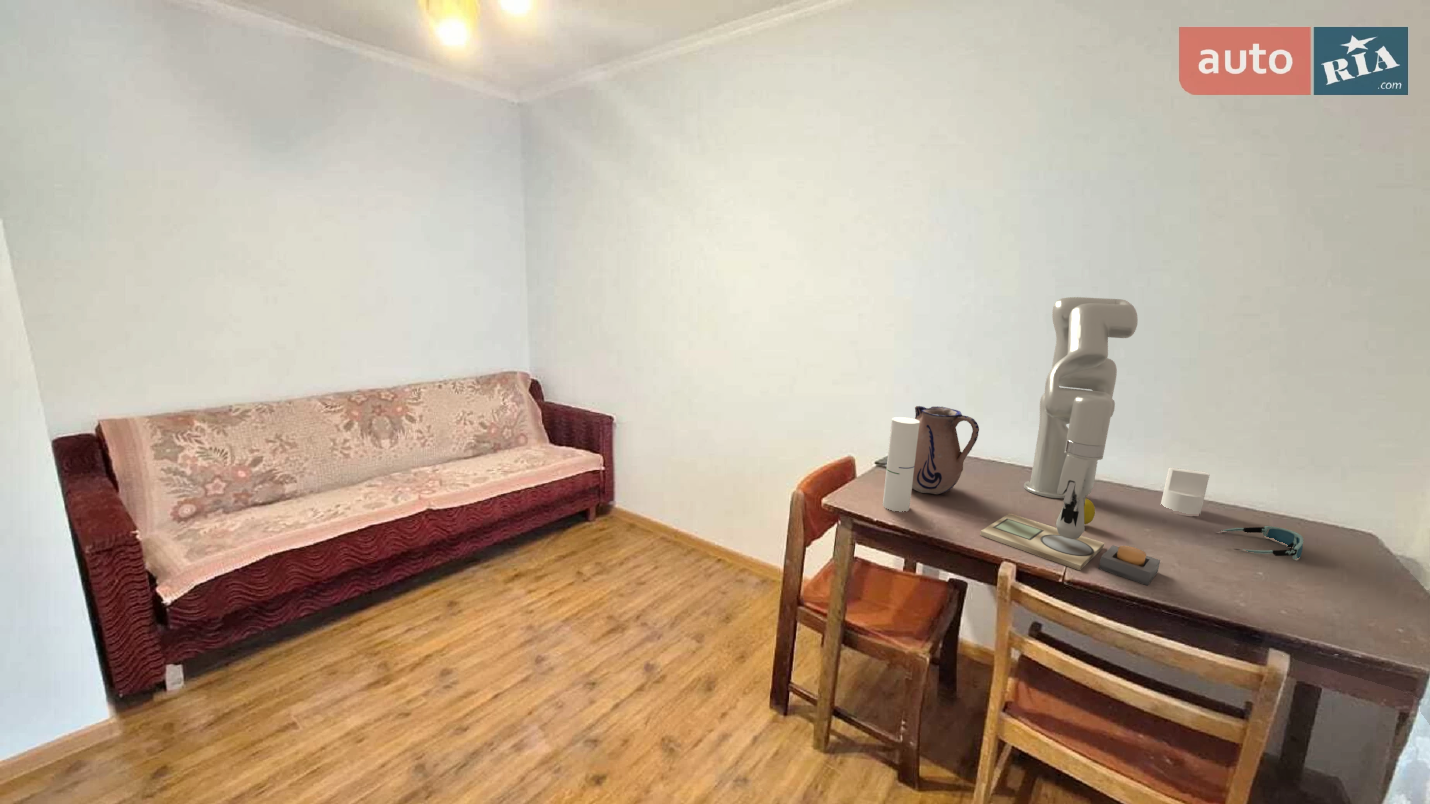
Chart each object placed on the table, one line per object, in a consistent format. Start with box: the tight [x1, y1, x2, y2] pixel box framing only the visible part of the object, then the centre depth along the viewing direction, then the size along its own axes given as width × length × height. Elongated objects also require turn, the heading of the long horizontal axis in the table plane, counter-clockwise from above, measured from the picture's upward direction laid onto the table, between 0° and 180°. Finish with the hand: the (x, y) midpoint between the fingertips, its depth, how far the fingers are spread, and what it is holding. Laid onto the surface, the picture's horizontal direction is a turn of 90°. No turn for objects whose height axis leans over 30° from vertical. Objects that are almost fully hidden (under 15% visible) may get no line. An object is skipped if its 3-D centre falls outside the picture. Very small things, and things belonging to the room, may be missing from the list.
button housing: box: [1098, 544, 1161, 586], centre depth 125 cm, size 9×9×3 cm
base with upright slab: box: [1160, 467, 1210, 514], centre depth 161 cm, size 9×9×12 cm
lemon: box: [1084, 497, 1096, 525], centre depth 148 cm, size 6×6×8 cm
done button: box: [1117, 545, 1147, 567], centre depth 125 cm, size 5×5×2 cm
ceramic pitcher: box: [912, 405, 980, 495], centre depth 168 cm, size 18×21×25 cm
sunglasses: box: [1222, 525, 1305, 560], centre depth 141 cm, size 14×15×5 cm
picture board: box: [979, 512, 1105, 571], centre depth 139 cm, size 18×22×1 cm
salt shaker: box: [1055, 489, 1086, 539], centre depth 133 cm, size 6×6×13 cm
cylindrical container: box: [882, 416, 920, 513], centre depth 154 cm, size 7×7×25 cm
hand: (1070, 522), depth 133 cm, fingers closed on salt shaker, 3 cm apart
